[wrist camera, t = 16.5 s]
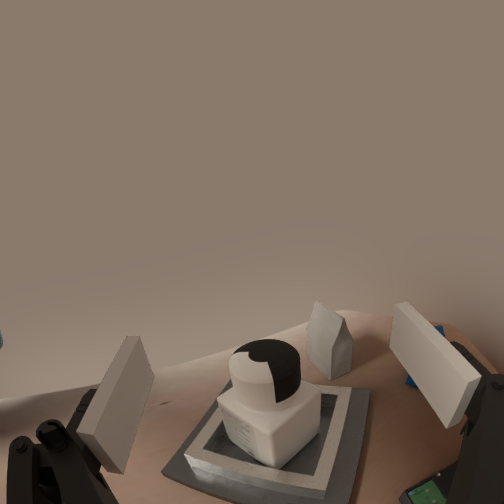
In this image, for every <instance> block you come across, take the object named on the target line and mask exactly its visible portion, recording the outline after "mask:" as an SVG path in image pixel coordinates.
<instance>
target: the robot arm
mask: <svg viewBox="0 0 504 504" xmlns="http://www.w3.org/2000/svg"><path fill="white" fill-rule="evenodd" d="M2 346H3V338H2V335H1V332H0V349H1V348H2ZM389 347H390V349H391V350H392V351H393V353H394V354H395V355H396V357H397V358H398V360H399V361H400V362H401V364H402V365H403V367H404V368H405V369H406V371H407V372H408V374H409V375H410V376H411V378H412V379H413V381H414V382H415V383H416V385H417V386H418V388H419V389H420V391H421V392H422V393H423V395H424V396H425V398H426V399H427V401H428V402H429V404H430V405H431V407H432V408H433V410H434V411H435V413H436V414H437V415H438V417H439V418H440V420H441V422H442V423H443V425H444V426H445V428H446V429H448V428H450V427H452V426H454V425H456V424H458V423H460V421H461V419H462V417H463V415H464V413H465V414H466V416H467V417H468V419H467V421H466V423H465V425H464V427H463V428H462V430H461V432H460V434H461V435H462V433H463V432H464V436H463V441H462V446H461V450H460V455H459V459H458V463H457V467H456V471H455V474H454V478H453V481H452V484H451V488H450V491H449V494H448V497H447V500H446V503H445V504H503V500H504V375H501V374H493V375H492V374H491V373H490V372H489V371H488V370H487V369H486V368H485V367H484V366H483V365H482V364H481V363H480V362H479V361H478V360H477V359H476V358H474V356H473V355H472V354H471V353H469V351H468V350H467V349H466V348H465V347H464V346H463V345H461V344H459V343H457V342H455V341H453V342H450V343H449V342H448V341H447V340H446V339H445V338H444V337H443V336H442V335H441V334H440V333H439V332H438V331H437V330H436V329H435V328H434V327H433V326H432V325H431V324H430V323H429V322H428V321H427V320H426V319H425V318H424V317H423V316H422V315H421V314H420V313H419V312H417V311H416V310H415V309H414V308H413V307H412V306H411V305H410V304H409V303H408V302H403V303H399V304H395V310H394V317H393V325H392V332H391V339H390V345H389ZM153 379H154V375H153V372H152V370H151V367H150V364H149V361H148V359H147V356H146V353H145V350H144V347H143V344H142V341H141V338H140V336H126V338H125V340H124V342H123V343H122V345H121V347H120V349H119V350H118V352H117V354H116V356H115V358H114V359H113V361H112V363H111V365H110V367H109V368H108V371H107V372H106V374H105V376H104V378H103V380H102V381H101V383H100V385H99V387H98V389H90V390H89V391H88V392H87V393H86V394H85V395H84V396H83V397H82V399H81V401H80V403H79V405H78V407H77V408H76V412H74V414H73V416H72V418H71V420H70V422H69V424H68V425H67V427H66V429H65V427H64V426H63V425H62V423H61V422H60V421H58V420H53V419H51V420H47V421H45V422H43V423H41V425H40V426H39V427H38V428H37V430H36V437H37V438H38V440H39V441H40V442H41V443H42V444H34V443H33V442H32V441H31V439H30V438H28V437H26V436H20V437H17V438H16V439H14V440H13V441H12V443H11V444H10V447H9V456H8V469H7V504H119V503H118V501H117V500H116V498H115V496H114V495H113V493H112V491H111V490H110V488H109V486H108V484H107V482H106V481H105V479H104V477H103V475H102V474H101V473H100V468H101V465H102V466H103V467H104V468H105V469H106V470H107V472H111V473H117V474H123V475H124V472H125V468H126V465H127V461H128V458H129V454H130V451H131V448H132V444H133V441H134V438H135V434H136V431H137V428H138V425H139V422H140V419H141V415H142V412H143V409H144V406H145V403H146V400H147V397H148V394H149V391H150V388H151V385H152V382H153ZM464 430H465V431H464Z"/></svg>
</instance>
